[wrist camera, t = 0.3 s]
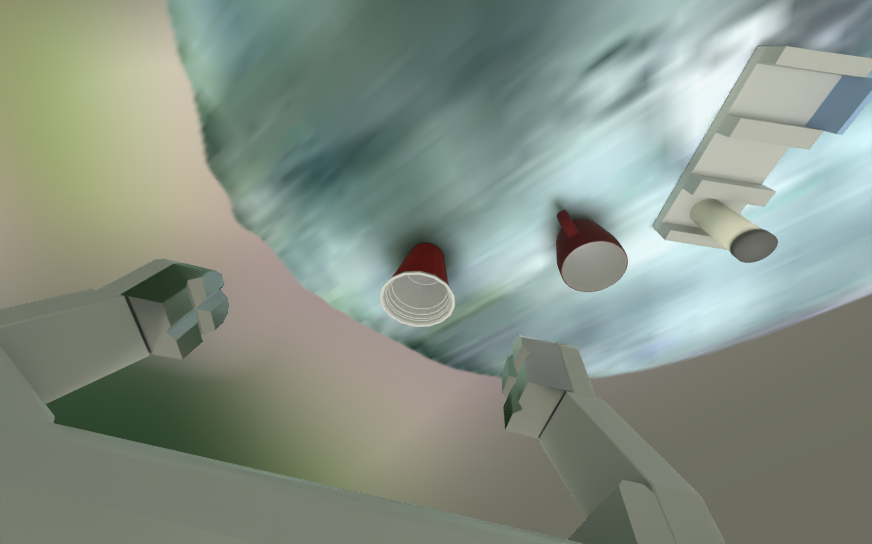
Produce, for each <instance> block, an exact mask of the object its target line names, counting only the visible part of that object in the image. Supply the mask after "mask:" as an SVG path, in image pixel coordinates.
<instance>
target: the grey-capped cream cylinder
mask: <svg viewBox="0 0 872 544" xmlns="http://www.w3.org/2000/svg"><path fill="white" fill-rule="evenodd" d="M690 219H691V220H692V221H693V222H695V223H696V224H697V225H698V226H699V227H701V228H702V229H703V230H704V231H706V232H707V233H708V234H709V235H710V236H712V237H713V238H714V239H715V240H717V241H718V242H719V243H720V244H721V245H723V246H724V247H725V248H726V249H727V250H729V251H730V252H731V254H732V255H733V256H734V257H736V258H737V259H738V260H739V261H741V262H746V263H750V262H756V261H759V260H762V259H764V258H766V257H767V256H769V255H770V254H771V253H772V252H773V251H774V250H775V248H776V247H777V244H778V240H777V238H776V237H775V236H774V235H773V234H771V233H769V232H768V231H766V230H763V229H761V228H760V227H758V226H757V225H755V224H753V223H752V222H750V221H749V220H747V219H746V218H744V217H743V216H741V215H740V214H738V213H736V212H735V211H733V210H732V209H730V208H729V207H727V206H726V205H724V204H723V203H721V202H719V201H718V200H716V199H712V198H709V199H704V200H702V201H700V202H698V203H697V204H695V205H694V206H693V208H692V209H691V211H690Z"/></svg>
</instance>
